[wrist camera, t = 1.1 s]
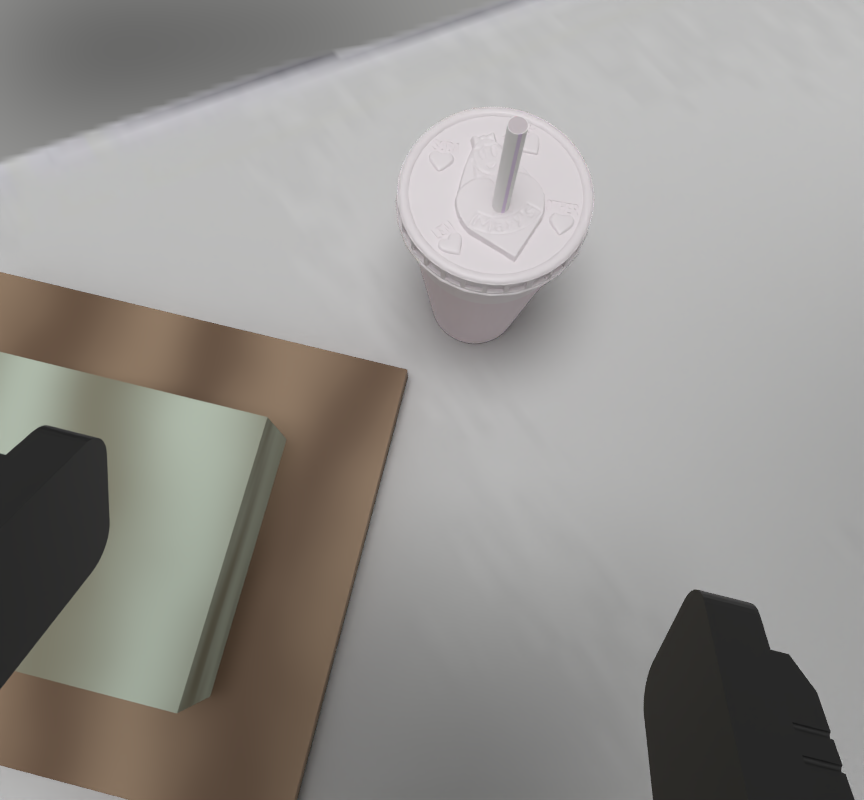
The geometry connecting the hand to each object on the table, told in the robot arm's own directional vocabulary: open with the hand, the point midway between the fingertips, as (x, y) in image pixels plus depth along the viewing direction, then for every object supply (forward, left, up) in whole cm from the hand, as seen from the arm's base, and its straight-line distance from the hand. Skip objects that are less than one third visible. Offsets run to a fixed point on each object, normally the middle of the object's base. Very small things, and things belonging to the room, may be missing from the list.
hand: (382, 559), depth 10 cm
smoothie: (0, -12, -21) cm, 24 cm away
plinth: (+11, +1, -21) cm, 23 cm away
